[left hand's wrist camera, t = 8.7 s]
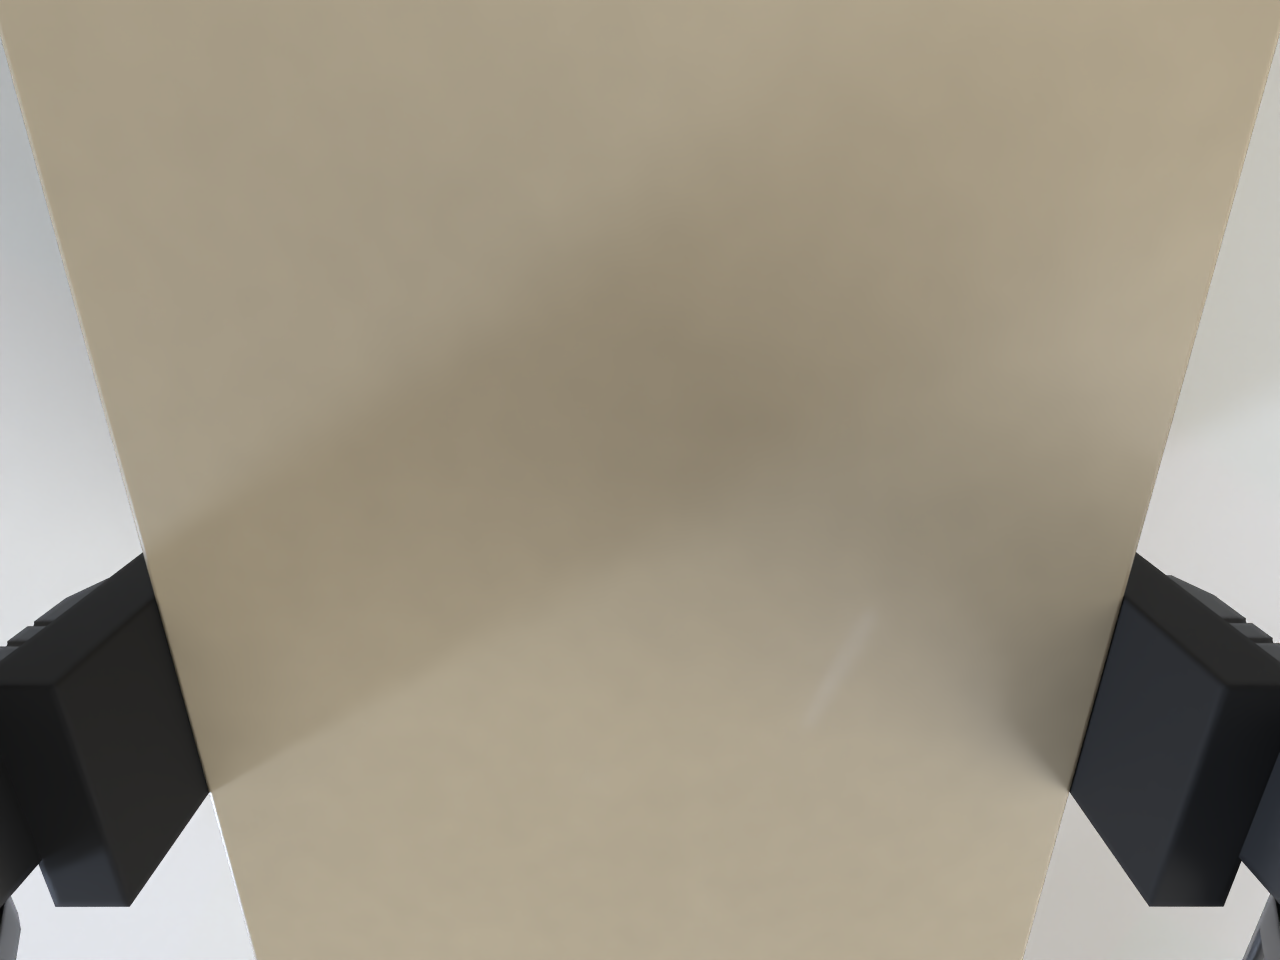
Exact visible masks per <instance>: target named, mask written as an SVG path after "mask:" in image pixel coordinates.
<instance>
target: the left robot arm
mask: <svg viewBox="0 0 1280 960" xmlns="http://www.w3.org/2000/svg"><path fill="white" fill-rule="evenodd" d="M1272 639H1273V638H1272V637H1270V636H1269V635H1268V634H1266V633H1265V632H1263V631H1262V630H1261V629H1259V628H1258V627H1257V626H1255V625H1254V624H1253V623H1246V618H1244V617H1243V616H1242V615H1240V614H1239V613H1238V612H1236V611H1235V610H1233V609H1232V608H1231V607H1229V606H1228V605H1227V604H1225V603H1224V602H1223V601H1221V600H1220V599H1218V598H1217V597H1216V596H1214V595H1212V594H1210V593H1208V592H1206V591H1204V590H1202V589H1200V588H1197V587H1195V586H1193V585H1191V584H1189V583H1187V582H1185V581H1182V580H1180V579H1178V578H1176V577H1174V576H1172V575H1165V574H1164V573H1163V572H1161V571H1160V570H1159V569H1157V568H1156V567H1155V566H1153V565H1152V564H1151V563H1149V562H1148V561H1147V560H1145V559H1144V558H1143V557H1141V556H1140V555H1139V554H1138V553H1135V557H1134V560H1133V564H1132V567H1131V571H1130V575H1129V578H1128V582H1127V585H1126V589H1125V593H1124V596H1123V600H1122V603H1121V607H1120V611H1119V614H1118V618H1117V621H1116V625H1115V629H1114V632H1113V636H1112V639H1111V643H1110V647H1109V650H1108V654H1107V657H1106V661H1105V665H1104V668H1103V672H1102V675H1101V679H1100V683H1099V686H1098V690H1097V693H1096V697H1095V701H1094V704H1093V708H1092V711H1091V715H1090V719H1089V722H1088V726H1087V729H1086V733H1085V737H1084V740H1083V744H1082V747H1081V751H1080V755H1079V758H1078V762H1077V765H1076V769H1075V773H1074V776H1073V780H1072V783H1071V787H1070V791H1069V792H1070V793H1071V795H1072V796H1073V798H1074V799H1075V800H1076V802H1077V803H1078V805H1079V806H1080V808H1081V809H1082V810H1083V812H1084V813H1085V815H1086V816H1087V818H1088V819H1089V820H1090V822H1091V823H1092V825H1093V826H1094V828H1095V829H1096V831H1097V832H1098V833H1099V835H1100V836H1101V838H1102V839H1103V841H1104V842H1105V843H1106V845H1107V846H1108V848H1109V849H1110V851H1111V852H1112V854H1113V855H1114V856H1115V858H1116V859H1117V861H1118V862H1119V864H1120V865H1121V866H1122V868H1123V869H1124V871H1125V872H1126V874H1127V875H1128V877H1129V878H1130V879H1131V881H1132V882H1133V884H1134V885H1135V887H1136V888H1137V889H1138V891H1139V892H1140V894H1141V895H1142V897H1143V898H1144V900H1145V901H1146V902H1147V904H1148V905H1149V906H1168V907H1224V904H1225V901H1226V899H1227V896H1228V894H1229V891H1230V889H1231V886H1232V884H1233V881H1234V879H1235V876H1236V874H1237V871H1238V868H1239V866H1240V863H1241V861H1242V862H1243V863H1244V864H1245V865H1246V866H1247V867H1248V869H1249V870H1250V871H1251V872H1252V873H1253V874H1254V875H1255V876H1256V878H1257V879H1258V880H1259V881H1260V882H1261V883H1262V884H1263V886H1264V887H1265V888H1266V889H1267V890H1268V891H1269V892H1270V896H1269V898H1268V900H1267V903H1266V905H1265V907H1264V910H1263V912H1262V915H1261V917H1260V919H1259V922H1258V924H1257V926H1256V929H1255V931H1254V934H1253V936H1252V938H1251V941H1250V943H1249V945H1248V948H1247V950H1246V953H1245V955H1244V957H1243V960H1280V643H1273V641H1272ZM7 643H8V644H7V646H6V647H0V960H16V956H17V950H18V944H19V937H20V931H21V928H20V922H19V917H18V912H17V910H16V907H15V905H14V903H13V900H12V898H11V895H12V894H13V893H14V891H15V890H16V889H17V888H18V887H19V886H20V885H21V883H22V882H23V881H24V880H25V879H26V878H27V877H28V875H29V874H30V873H31V872H32V871H33V870H34V868H35V867H36V866H37V865H38V864H39V866H40V869H41V871H42V874H43V876H44V879H45V882H46V884H47V887H48V889H49V892H50V894H51V897H52V899H53V902H54V904H55V907H130V905H131V904H132V903H133V901H134V900H135V898H136V897H137V895H138V894H139V893H140V891H141V890H142V888H143V887H144V885H145V884H146V882H147V881H148V880H149V878H150V877H151V875H152V874H153V872H154V871H155V870H156V868H157V867H158V865H159V864H160V862H161V861H162V859H163V858H164V857H165V855H166V854H167V852H168V851H169V849H170V848H171V847H172V845H173V844H174V842H175V841H176V839H177V838H178V836H179V835H180V834H181V832H182V831H183V829H184V828H185V826H186V825H187V824H188V822H189V821H190V819H191V818H192V816H193V815H194V813H195V812H196V811H197V809H198V808H199V806H200V805H201V803H202V802H203V801H204V799H205V798H206V796H207V795H208V793H209V790H208V787H207V783H206V779H205V776H204V772H203V768H202V765H201V761H200V758H199V754H198V750H197V747H196V743H195V739H194V736H193V732H192V729H191V725H190V721H189V718H188V714H187V710H186V707H185V703H184V700H183V696H182V692H181V689H180V685H179V681H178V678H177V674H176V671H175V667H174V663H173V660H172V656H171V652H170V649H169V645H168V642H167V638H166V634H165V631H164V627H163V623H162V620H161V616H160V613H159V609H158V605H157V602H156V598H155V594H154V591H153V587H152V584H151V580H150V576H149V573H148V569H147V566H146V562H145V558H144V555H143V553H141V554H140V555H139V556H138V557H136V558H135V559H134V560H132V561H131V562H130V563H128V564H127V565H126V566H124V567H123V568H122V569H120V570H119V571H118V572H117V573H115V574H114V575H113V576H111V577H110V578H108V579H106V580H103V581H101V582H99V583H97V584H95V585H93V586H91V587H89V588H86V589H84V590H82V591H80V592H78V593H76V594H74V595H72V596H69V597H67V598H65V599H64V600H63V601H61V602H60V603H59V604H57V605H56V606H55V607H53V608H52V609H51V610H49V611H48V612H46V613H45V614H44V615H42V616H41V617H40V618H38V619H37V620H36V621H34V626H28V627H26V628H25V629H23V630H22V631H21V632H19V633H18V634H17V635H15V636H14V637H13V638H11V639H10V640H9V641H7Z"/></svg>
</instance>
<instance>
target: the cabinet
mask: <svg viewBox="0 0 1280 960" xmlns="http://www.w3.org/2000/svg"><path fill="white" fill-rule="evenodd" d="M1279 34H1280V0H0V36H1V40H2V44H3V47H4V51H5V55H6V58H7V62H8V65H9V69H10V73H11V76H12V80H13V84H14V87H15V91H16V94H17V98H18V102H19V105H20V109H21V113H22V116H23V120H24V123H25V127H26V131H27V134H28V138H29V142H30V145H31V149H32V152H33V156H34V160H35V163H36V167H37V171H38V174H39V178H40V181H41V185H42V189H43V192H44V196H45V199H46V203H47V207H48V210H49V214H50V218H51V221H52V225H53V228H54V232H55V236H56V239H57V243H58V247H59V250H60V254H61V257H62V261H63V265H64V268H65V272H66V276H67V279H68V283H69V286H70V290H71V294H72V297H73V301H74V305H75V308H76V312H77V315H78V319H79V323H80V326H81V330H82V334H83V337H84V341H85V344H86V348H87V352H88V355H89V359H90V363H91V366H92V370H93V373H94V377H95V381H96V384H97V388H98V392H99V395H100V399H101V402H102V406H103V410H104V413H105V417H106V421H107V424H108V428H109V431H110V435H111V439H112V442H113V446H114V450H115V453H116V457H117V460H118V464H119V468H120V471H121V475H122V479H123V482H124V486H125V489H126V493H127V497H128V500H129V504H130V508H131V511H132V515H133V518H134V522H135V526H136V529H137V533H138V537H139V540H140V544H141V547H142V551H143V555H144V558H145V562H146V566H147V569H148V573H149V576H150V580H151V584H152V587H153V591H154V594H155V598H156V602H157V605H158V609H159V613H160V616H161V620H162V623H163V627H164V631H165V634H166V638H167V642H168V645H169V649H170V652H171V656H172V660H173V663H174V667H175V671H176V674H177V678H178V681H179V685H180V689H181V692H182V696H183V700H184V703H185V707H186V710H187V714H188V718H189V721H190V725H191V729H192V732H193V736H194V739H195V743H196V747H197V750H198V754H199V758H200V761H201V765H202V768H203V772H204V776H205V779H206V783H207V787H208V790H209V794H210V797H211V801H212V805H213V808H214V812H215V816H216V819H217V823H218V826H219V830H220V834H221V837H222V841H223V845H224V848H225V852H226V855H227V859H228V863H229V866H230V870H231V874H232V877H233V881H234V884H235V888H236V892H237V895H238V899H239V903H240V906H241V910H242V913H243V917H244V921H245V924H246V928H247V932H248V935H249V939H250V942H251V946H252V950H253V953H254V957H255V960H1023V956H1024V953H1025V949H1026V945H1027V942H1028V938H1029V935H1030V931H1031V927H1032V924H1033V920H1034V917H1035V913H1036V909H1037V906H1038V902H1039V899H1040V895H1041V891H1042V888H1043V884H1044V881H1045V877H1046V873H1047V870H1048V866H1049V863H1050V859H1051V855H1052V852H1053V848H1054V845H1055V841H1056V837H1057V834H1058V830H1059V827H1060V823H1061V819H1062V816H1063V812H1064V809H1065V805H1066V801H1067V798H1068V794H1069V791H1070V787H1071V783H1072V780H1073V776H1074V773H1075V769H1076V765H1077V762H1078V758H1079V755H1080V751H1081V747H1082V744H1083V740H1084V737H1085V733H1086V729H1087V726H1088V722H1089V719H1090V715H1091V711H1092V708H1093V704H1094V701H1095V697H1096V693H1097V690H1098V686H1099V683H1100V679H1101V675H1102V672H1103V668H1104V665H1105V661H1106V657H1107V654H1108V650H1109V647H1110V643H1111V639H1112V636H1113V632H1114V629H1115V625H1116V621H1117V618H1118V614H1119V611H1120V607H1121V603H1122V600H1123V596H1124V593H1125V589H1126V585H1127V582H1128V578H1129V575H1130V571H1131V567H1132V564H1133V560H1134V557H1135V553H1136V549H1137V546H1138V542H1139V539H1140V535H1141V531H1142V528H1143V524H1144V521H1145V517H1146V513H1147V510H1148V506H1149V502H1150V499H1151V495H1152V492H1153V488H1154V484H1155V481H1156V477H1157V474H1158V470H1159V466H1160V463H1161V459H1162V456H1163V452H1164V448H1165V445H1166V441H1167V438H1168V434H1169V430H1170V427H1171V423H1172V420H1173V416H1174V412H1175V409H1176V405H1177V402H1178V398H1179V394H1180V391H1181V387H1182V384H1183V380H1184V376H1185V373H1186V369H1187V366H1188V362H1189V358H1190V355H1191V351H1192V348H1193V344H1194V340H1195V337H1196V333H1197V330H1198V326H1199V322H1200V319H1201V315H1202V312H1203V308H1204V304H1205V301H1206V297H1207V294H1208V290H1209V286H1210V283H1211V279H1212V276H1213V272H1214V268H1215V265H1216V261H1217V258H1218V254H1219V250H1220V247H1221V243H1222V240H1223V236H1224V232H1225V229H1226V225H1227V222H1228V218H1229V214H1230V211H1231V207H1232V204H1233V200H1234V196H1235V193H1236V189H1237V186H1238V182H1239V178H1240V175H1241V171H1242V168H1243V164H1244V160H1245V157H1246V153H1247V150H1248V146H1249V142H1250V139H1251V135H1252V132H1253V128H1254V124H1255V121H1256V117H1257V114H1258V110H1259V106H1260V103H1261V99H1262V96H1263V92H1264V88H1265V85H1266V81H1267V78H1268V74H1269V70H1270V67H1271V63H1272V60H1273V56H1274V52H1275V49H1276V45H1277V42H1278V38H1279Z"/></svg>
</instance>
